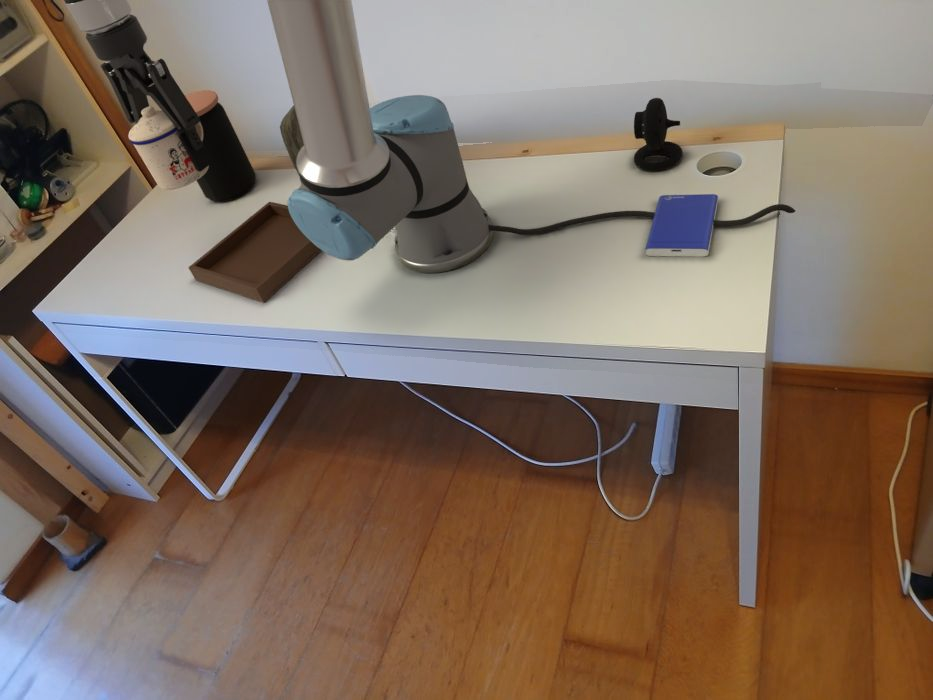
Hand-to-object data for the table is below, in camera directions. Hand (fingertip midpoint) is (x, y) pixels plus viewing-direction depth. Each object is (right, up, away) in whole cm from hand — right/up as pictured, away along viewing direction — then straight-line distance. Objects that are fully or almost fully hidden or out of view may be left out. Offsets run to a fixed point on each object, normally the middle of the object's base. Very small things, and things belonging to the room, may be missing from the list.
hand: (187, 163), depth 122 cm
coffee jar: (-1, +2, +28) cm, 28 cm away
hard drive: (+75, -13, -15) cm, 78 cm away
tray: (+12, -14, +6) cm, 19 cm away
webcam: (+75, 0, -1) cm, 75 cm away
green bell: (+24, -1, +16) cm, 28 cm away
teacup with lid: (0, -1, +1) cm, 2 cm away
